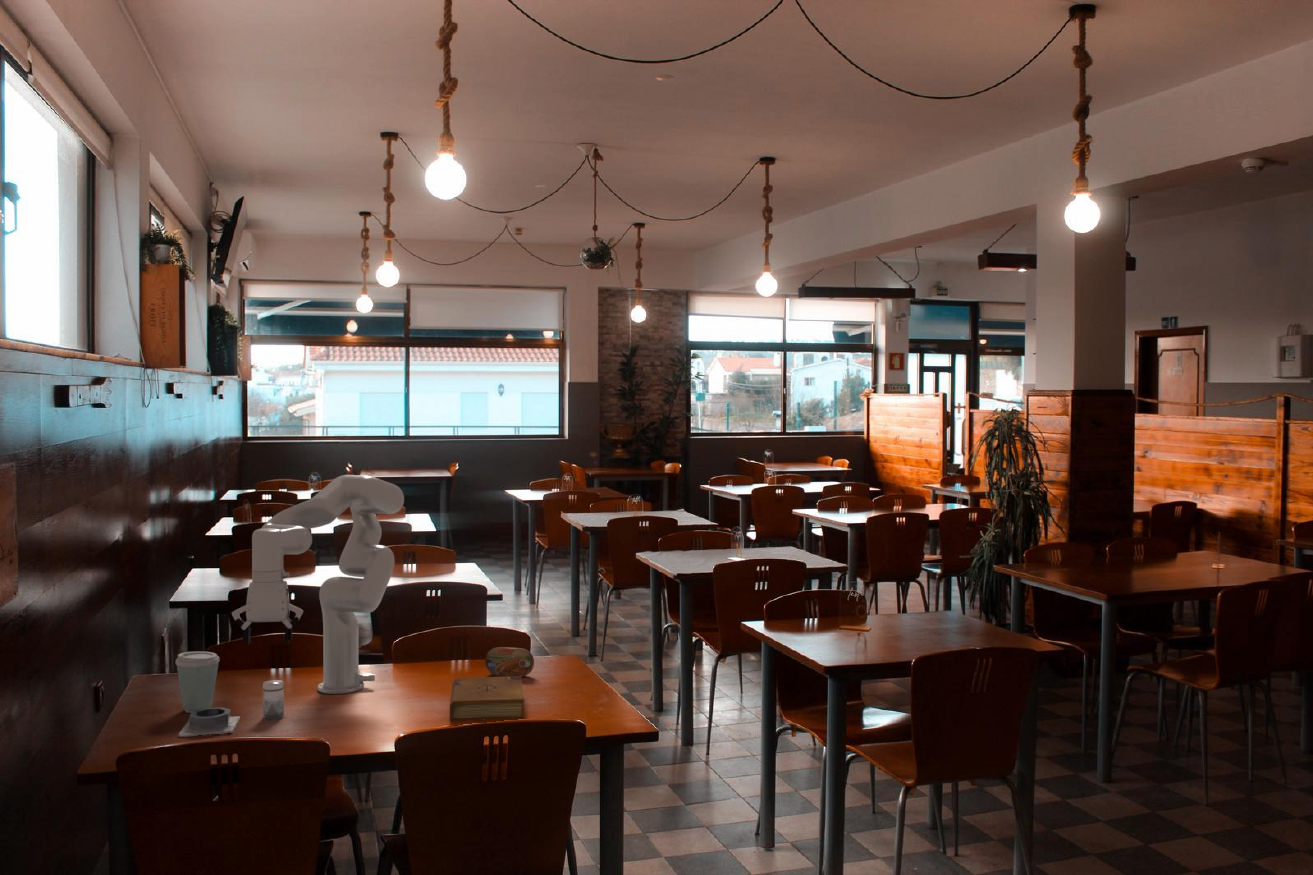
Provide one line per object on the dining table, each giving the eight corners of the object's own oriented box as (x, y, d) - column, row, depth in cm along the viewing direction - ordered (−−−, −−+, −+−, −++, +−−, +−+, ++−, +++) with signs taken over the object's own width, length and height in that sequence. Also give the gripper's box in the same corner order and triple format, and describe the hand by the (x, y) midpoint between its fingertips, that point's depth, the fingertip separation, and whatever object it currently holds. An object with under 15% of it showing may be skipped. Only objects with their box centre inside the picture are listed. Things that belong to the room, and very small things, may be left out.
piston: (285, 714, 269) (284, 679, 268) (282, 719, 264) (282, 684, 264) (264, 715, 268) (264, 680, 267) (261, 721, 263) (261, 685, 262)
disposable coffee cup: (207, 701, 279) (207, 646, 279) (228, 709, 272) (227, 652, 272) (168, 710, 271) (167, 653, 271) (188, 718, 264) (187, 660, 264)
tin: (484, 674, 310) (484, 646, 310) (489, 672, 313) (489, 644, 313) (531, 678, 306) (531, 650, 305) (535, 676, 309) (535, 648, 308)
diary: (452, 699, 286) (452, 678, 286) (520, 696, 289) (521, 676, 289) (449, 723, 263) (449, 700, 263) (523, 720, 266) (524, 697, 266)
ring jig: (240, 719, 264) (240, 704, 264) (232, 733, 252) (232, 718, 252) (189, 722, 261) (189, 707, 261) (178, 737, 249) (178, 721, 249)
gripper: (305, 574, 271) (305, 639, 271) (235, 575, 268) (235, 641, 268) (300, 578, 263) (300, 645, 264) (228, 580, 260) (228, 647, 260)
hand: (267, 643), depth 266 cm, fingers open, 9 cm apart
